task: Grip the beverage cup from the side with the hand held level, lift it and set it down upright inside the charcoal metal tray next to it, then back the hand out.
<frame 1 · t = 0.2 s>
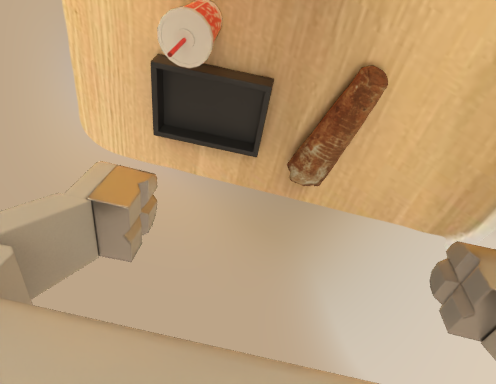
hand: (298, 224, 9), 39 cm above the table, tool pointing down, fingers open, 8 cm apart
tray: (212, 104, 50), on the table
bread: (331, 119, 49), on the table
beverage cup: (205, 18, 42), on the table
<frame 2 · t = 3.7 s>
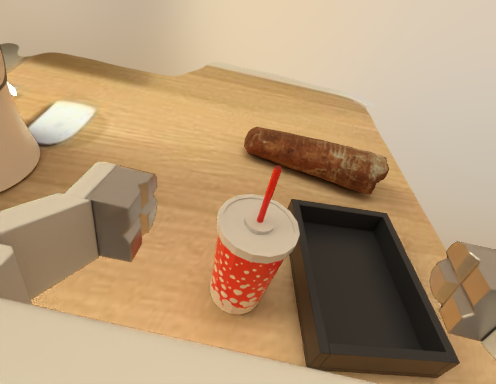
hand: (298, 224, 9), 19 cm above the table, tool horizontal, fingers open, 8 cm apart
tray: (348, 284, 33), on the table
bread: (305, 173, 46), on the table
beverage cup: (234, 291, 30), on the table
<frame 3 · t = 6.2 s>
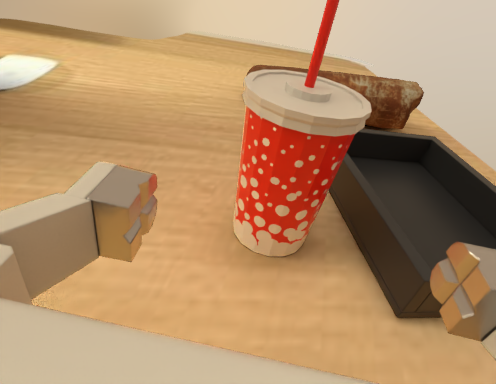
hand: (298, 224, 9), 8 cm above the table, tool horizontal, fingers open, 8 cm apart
tray: (411, 216, 25), on the table
bread: (320, 116, 39), on the table
beverage cup: (268, 231, 21), on the table
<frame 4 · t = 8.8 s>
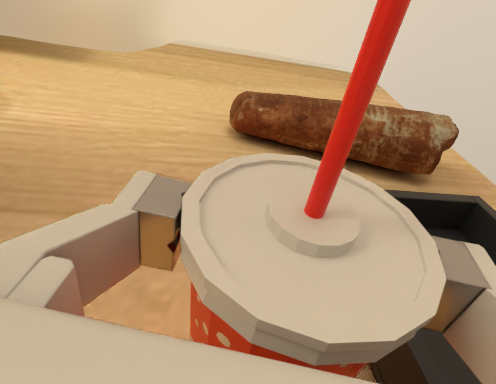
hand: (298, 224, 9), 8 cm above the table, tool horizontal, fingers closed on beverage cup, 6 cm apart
tray: (461, 334, 17), on the table
bread: (324, 154, 31), on the table
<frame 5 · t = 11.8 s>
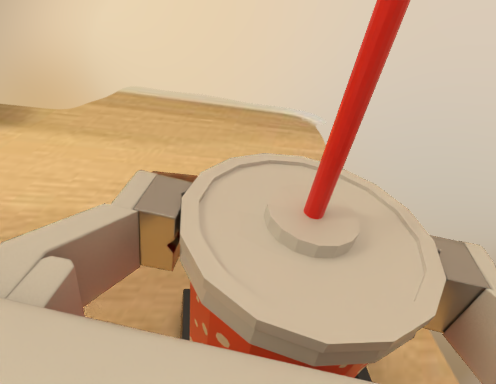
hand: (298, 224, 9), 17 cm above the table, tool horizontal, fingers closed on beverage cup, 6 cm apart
when the fingers open (9 cm above the table, at t = 15.2 s): beverage cup stays where it is, resting on tray.
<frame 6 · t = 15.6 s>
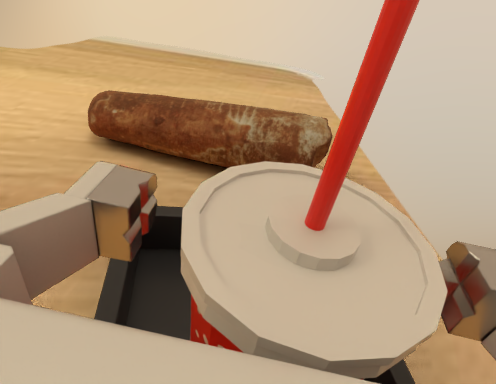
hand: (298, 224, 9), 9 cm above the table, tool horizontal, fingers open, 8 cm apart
bread: (200, 162, 27), on the table
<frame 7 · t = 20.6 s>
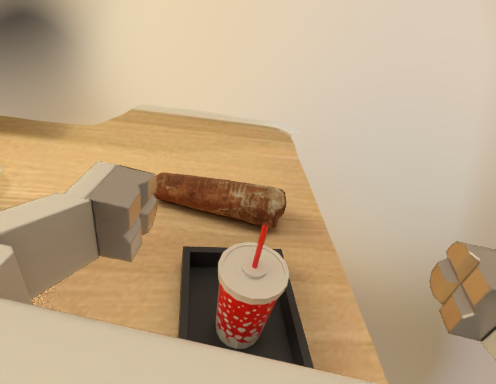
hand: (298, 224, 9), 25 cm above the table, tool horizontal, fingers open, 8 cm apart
tray: (236, 328, 33), on the table
bread: (214, 212, 47), on the table
beverage cup: (237, 327, 33), resting on tray
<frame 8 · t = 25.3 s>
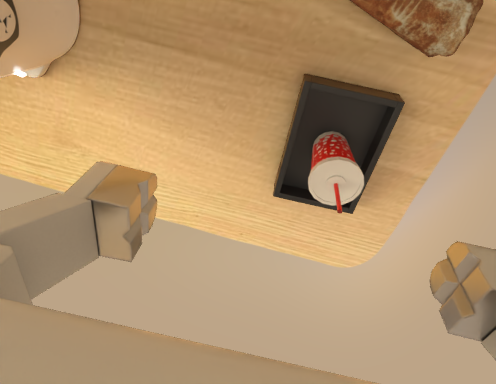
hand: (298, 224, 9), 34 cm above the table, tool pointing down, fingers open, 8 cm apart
tray: (329, 144, 44), on the table
beverage cup: (330, 146, 44), resting on tray
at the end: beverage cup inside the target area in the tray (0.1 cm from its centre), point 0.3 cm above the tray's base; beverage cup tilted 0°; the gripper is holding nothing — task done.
